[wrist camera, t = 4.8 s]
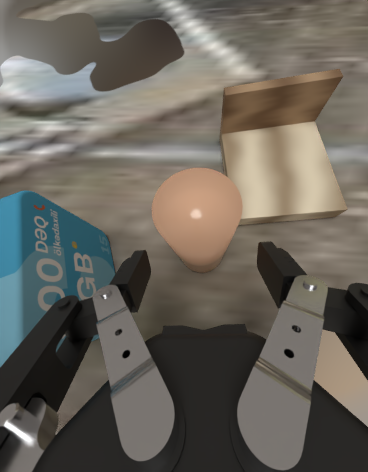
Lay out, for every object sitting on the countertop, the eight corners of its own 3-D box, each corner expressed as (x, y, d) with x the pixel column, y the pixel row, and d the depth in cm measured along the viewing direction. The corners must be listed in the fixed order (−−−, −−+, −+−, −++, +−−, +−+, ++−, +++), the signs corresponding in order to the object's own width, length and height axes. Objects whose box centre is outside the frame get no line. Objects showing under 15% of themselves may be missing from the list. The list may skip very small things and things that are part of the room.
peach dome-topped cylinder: (181, 273, 21) (151, 252, 9) (179, 233, 22) (152, 172, 11) (225, 271, 20) (249, 245, 9) (220, 229, 22) (235, 162, 10)
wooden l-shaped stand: (231, 225, 22) (242, 197, 15) (219, 139, 26) (224, 87, 20) (334, 217, 21) (395, 181, 14) (304, 128, 25) (339, 68, 18)
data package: (126, 326, 20) (19, 373, 8) (89, 339, 20) (-66, 404, 8) (108, 233, 24) (17, 180, 12) (77, 244, 24) (-41, 202, 12)
